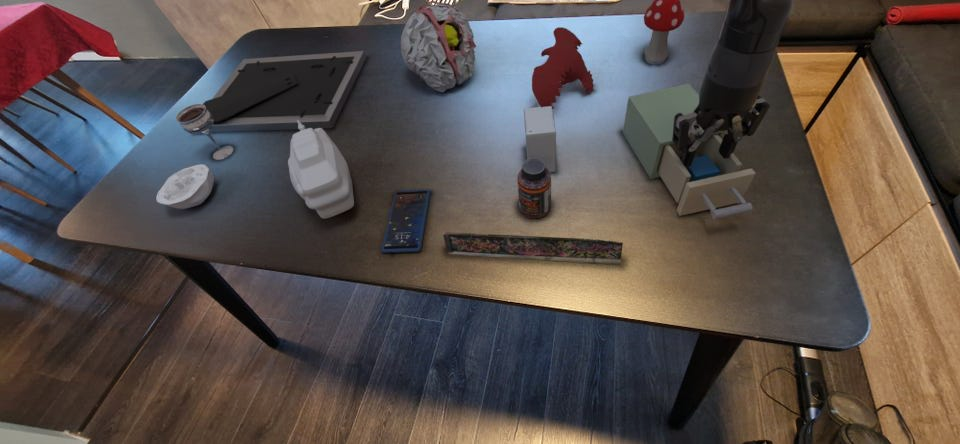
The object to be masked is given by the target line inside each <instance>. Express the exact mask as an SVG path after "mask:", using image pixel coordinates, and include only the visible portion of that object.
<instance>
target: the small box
mask: <svg viewBox="0 0 960 444" xmlns="http://www.w3.org/2000/svg"><path fill="white" fill-rule="evenodd" d="M552 106H553V105H552ZM552 106H548V107H540V106H538V107H529V108H523V120H524V121H523V122H524V132H525V149H526V158H527V159H529V158H539V159H541V160H543V161H544V162H545V165H546V168H547V169H548V170H549V172H550V173H556V172H557V130H556V129H557V128H556V124H555V118H554V117H555V116H554V111H553V110H554V109H552ZM527 159H526V160H527Z"/></svg>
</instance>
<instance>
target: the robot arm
mask: <svg viewBox="0 0 960 444" xmlns="http://www.w3.org/2000/svg"><path fill="white" fill-rule="evenodd" d="M793 5H794V0H727V4H726V10H725V14H724V17H723V20H722V23H721V27H720V30H719V33H718V37H717V40H716V41H715V44H714V47H713V48H712V51H711V54H710V57H709V59H708V63H707V68H706V70H705V73H704V76H703V77H704V78H703V79H702V83H701V87H700V90H699V93H698V95H699V104H698V106H697V107H696V109H695V110H694V112H693V113H691V114H688V115H685V116H683V114H682V113H678V114H676V115H675V117H674V126H673V137H672V141H673V143H674V144H675V145H676V147H677V148H678V149H679V151H681V152H680V156H679V159H680V161H681V162H682V163H683V165H685V167H689V166H691V165H692V162H693V159H694V156H695V153H696V148H697V147H698V146H699V145H700V144H701V142H705V141H706V140H707V139H708V138H709V137H710V136H711V135H712V133H715V132H718V131H725V130H727V131H726V133H725V135H724V137H723V140H722V143H721V145H720V148H719V153H720V154H721V156H722V157H723V158H724V159H725V158H729V157H730V155H731V154H732V153H733V154H734V152H735V150H736V148H737V145H738V144H739V143H738V142H740V141H741V140H742V139H743V138H744V137H746V136H747V137H751V136H753V135H754V134H755V133H756V131H757V129H758V127H759V126H760V125H761V123H762V120H764V117H765V116H766V114H767V112H768V111H769V109H770V107H771V105H770V103H768V101H767V100H766V99H765V98H763V97H762V96H761V95H760V93H761V90H762V87H763V85H764V83H765V80H766V78H767V75H768V74H769V71H770V68H771V66H772V64H773V61H774V58H775V54H776V51H777V47H778V44H779V42H780V39H781V37H782V34H783V32H784V30H785V27H786V26H787V22H788V20H789V18H790V16H791V14H792V13H791V12H792V9H793V7H794V6H793ZM700 127H701V128H702V129H703V130H704V132H703V133H702V131H701V130H700ZM694 136H695V139H694V141H693V142H692V139H693V137H694Z"/></svg>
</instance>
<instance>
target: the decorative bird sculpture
mask: <svg viewBox="0 0 960 444" xmlns="http://www.w3.org/2000/svg"><path fill="white" fill-rule="evenodd" d="M552 32H553V37H554V39H555V41H554V44H553V46H550V47H547V48H545V49H543V50H541V53H540V56H541V57H545V56H548V57H547V59H546V61H545V62H544V63H543V64H540V65H537V66H535V67H534V68H533V72H532V75H531V91H532V93H533V96H534V98H535V100H536V102H537V104H538V105H539V107H548V106H552V110H555V107H554V106H553V104H555V103H557V97H561V91H560V89H563V88H564V86H565V85H568V84H571V83H572V84H573V83H574V82H576V81H577V80H578V81H579V82H580V83H581V85H582V87H581V88H582V90H583V89H584V91H585V92H586V91H587V92H588V93H589V94H590V93H592V92H593V91H594V79H593V73H591V70H588V69H587V65H586V63H585V60H584V59H583V56H582V54H581V53H580V51H578V50H579V47H580V48H581V45H583V43H582V42H581V39H580V38H578V36H577V35H576V34H575V33H573V32H572V31H571V30H569V29H568V28H566V27H560V26H558V27H556V28H554V30H553V31H552Z"/></svg>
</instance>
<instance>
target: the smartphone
mask: <svg viewBox="0 0 960 444" xmlns="http://www.w3.org/2000/svg"><path fill="white" fill-rule="evenodd" d="M430 197H431V190H430V189H414V190H397V191H395V192H394V194H393V198H392V202H391V206H390V211H389V215H388V220H387V224H386V229H385V230H384V231H385V232H384V236H383V239H382V245H381V249H380V250H381V253H383V254H394V253H398V254H399V253H419V252H421V250H422V246H423V240H424V235H425V228H426V222H427V216H428V209H429V205H430V204H429V203H430Z"/></svg>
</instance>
